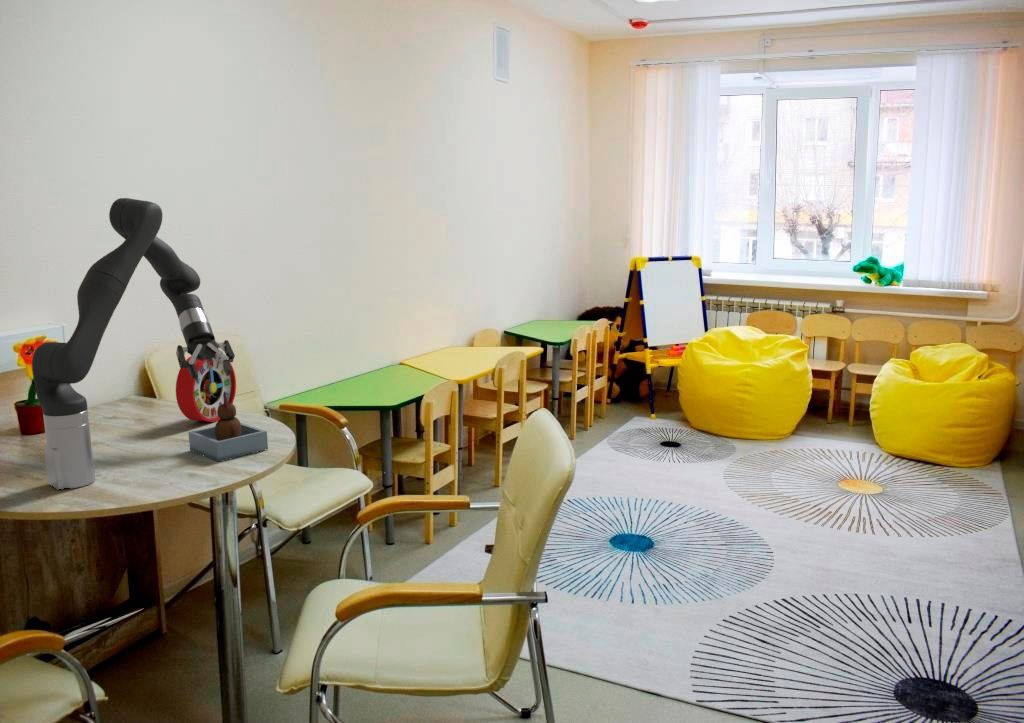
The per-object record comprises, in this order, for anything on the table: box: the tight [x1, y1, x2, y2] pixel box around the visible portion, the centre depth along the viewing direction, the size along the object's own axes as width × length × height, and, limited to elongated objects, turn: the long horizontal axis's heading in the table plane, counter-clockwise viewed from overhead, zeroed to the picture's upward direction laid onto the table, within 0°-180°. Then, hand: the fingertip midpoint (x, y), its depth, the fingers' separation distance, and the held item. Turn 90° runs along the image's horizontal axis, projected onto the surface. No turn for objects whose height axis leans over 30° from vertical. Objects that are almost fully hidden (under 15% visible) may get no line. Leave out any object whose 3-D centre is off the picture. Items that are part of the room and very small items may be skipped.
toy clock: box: [175, 354, 237, 423], centre depth 262 cm, size 20×6×20 cm, turn 161°
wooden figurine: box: [215, 392, 241, 441], centre depth 231 cm, size 7×6×15 cm
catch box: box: [187, 422, 269, 462], centre depth 232 cm, size 14×15×5 cm
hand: (212, 376), depth 236 cm, fingers open, 8 cm apart
